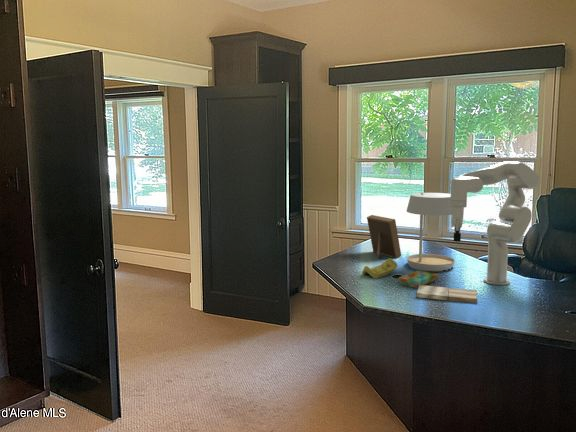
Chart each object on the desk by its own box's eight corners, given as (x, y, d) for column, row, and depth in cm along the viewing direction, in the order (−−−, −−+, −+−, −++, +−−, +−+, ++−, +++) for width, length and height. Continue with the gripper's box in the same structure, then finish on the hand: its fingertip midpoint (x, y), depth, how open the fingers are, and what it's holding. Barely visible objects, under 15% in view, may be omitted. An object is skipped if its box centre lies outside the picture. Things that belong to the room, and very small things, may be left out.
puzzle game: (398, 276, 270) (418, 268, 284) (398, 285, 271) (418, 277, 285) (418, 280, 262) (438, 272, 276) (418, 289, 262) (438, 281, 276)
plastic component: (376, 275, 280) (364, 264, 287) (372, 285, 284) (360, 274, 290) (401, 266, 292) (388, 256, 298) (396, 276, 296) (384, 266, 302)
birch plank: (448, 291, 257) (448, 287, 256) (447, 300, 244) (447, 296, 243) (419, 288, 261) (419, 285, 261) (416, 297, 248) (416, 293, 248)
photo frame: (378, 251, 347) (378, 214, 343) (401, 257, 329) (401, 218, 325) (360, 254, 340) (360, 216, 336) (383, 260, 322) (383, 220, 317)
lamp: (449, 274, 288) (452, 197, 281) (398, 268, 302) (400, 194, 296) (461, 263, 313) (464, 192, 306) (413, 258, 327) (415, 189, 320)
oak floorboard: (449, 291, 257) (449, 288, 256) (476, 294, 253) (476, 290, 252) (448, 300, 244) (448, 296, 243) (477, 303, 239) (477, 298, 239)
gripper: (450, 201, 260) (449, 237, 263) (449, 205, 246) (448, 243, 249) (466, 202, 258) (465, 238, 260) (466, 206, 244) (464, 244, 247)
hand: (457, 240), depth 255 cm, fingers closed
